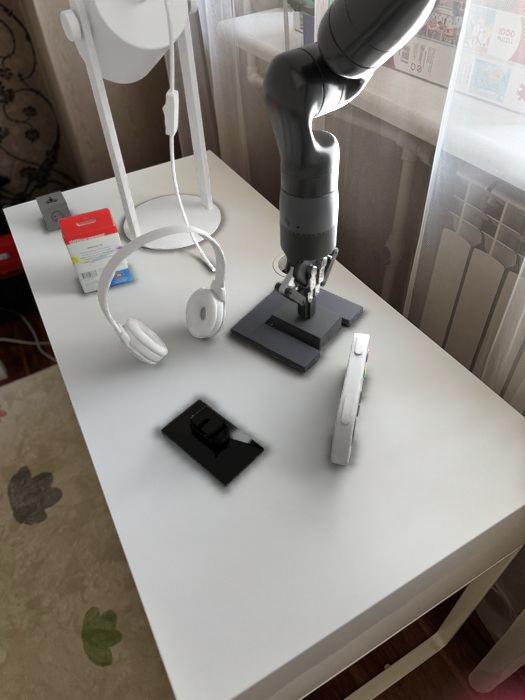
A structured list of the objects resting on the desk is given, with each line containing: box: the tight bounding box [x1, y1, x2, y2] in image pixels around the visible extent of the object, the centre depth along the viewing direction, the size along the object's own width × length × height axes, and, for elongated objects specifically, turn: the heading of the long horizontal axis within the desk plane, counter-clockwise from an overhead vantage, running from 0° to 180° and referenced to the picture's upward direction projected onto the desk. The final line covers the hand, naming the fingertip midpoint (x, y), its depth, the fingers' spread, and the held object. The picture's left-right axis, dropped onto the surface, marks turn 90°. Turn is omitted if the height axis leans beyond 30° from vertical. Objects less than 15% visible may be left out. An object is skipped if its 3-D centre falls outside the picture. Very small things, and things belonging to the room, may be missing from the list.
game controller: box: [330, 332, 371, 466], centre depth 68 cm, size 20×2×8 cm, turn 165°
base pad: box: [230, 287, 364, 374], centre depth 84 cm, size 14×16×1 cm
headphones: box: [97, 225, 227, 365], centre depth 75 cm, size 7×18×20 cm, turn 123°
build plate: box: [160, 399, 265, 487], centre depth 68 cm, size 12×7×5 cm, turn 47°
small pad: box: [271, 300, 342, 351], centre depth 83 cm, size 6×9×3 cm, turn 52°
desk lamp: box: [59, 0, 222, 272], centre depth 88 cm, size 21×32×45 cm, turn 35°
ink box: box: [58, 207, 133, 294], centre depth 89 cm, size 8×5×15 cm, turn 111°
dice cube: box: [35, 190, 72, 232], centre depth 107 cm, size 5×5×5 cm
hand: (306, 314), depth 82 cm, fingers closed
